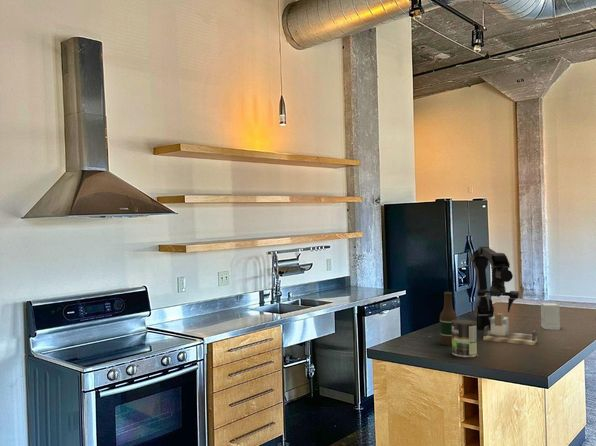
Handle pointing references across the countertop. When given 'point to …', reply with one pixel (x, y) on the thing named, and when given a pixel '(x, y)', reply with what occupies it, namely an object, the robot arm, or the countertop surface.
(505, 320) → the box
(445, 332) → the beer bottle
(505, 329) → the carriage
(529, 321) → the countertop surface
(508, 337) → the rail base
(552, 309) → the supplement box
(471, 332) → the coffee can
